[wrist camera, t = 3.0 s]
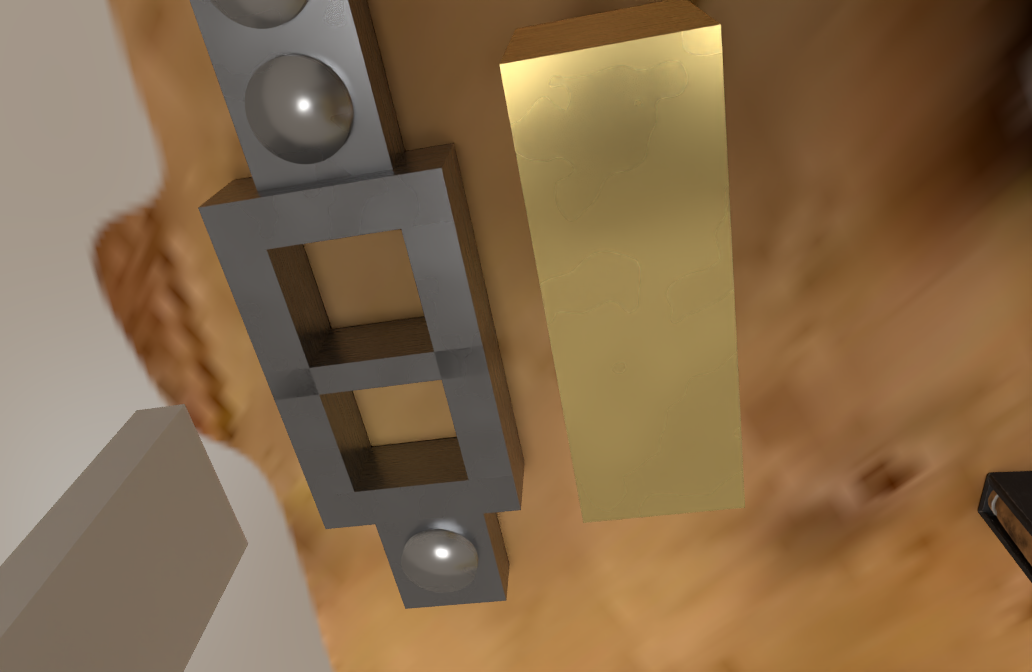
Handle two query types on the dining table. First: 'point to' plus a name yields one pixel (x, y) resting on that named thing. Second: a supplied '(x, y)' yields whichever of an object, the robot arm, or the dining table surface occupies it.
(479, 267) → the chain joint
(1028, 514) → the ammunition clip
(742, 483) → the tan piece
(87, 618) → the robot arm
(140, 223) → the dining table surface
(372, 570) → the dining table surface
